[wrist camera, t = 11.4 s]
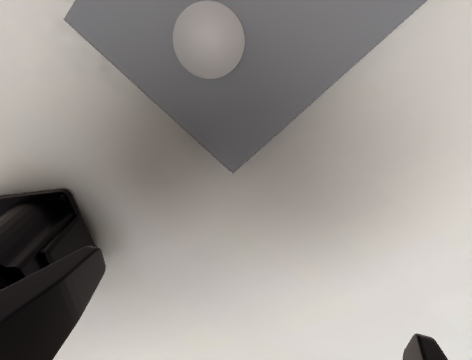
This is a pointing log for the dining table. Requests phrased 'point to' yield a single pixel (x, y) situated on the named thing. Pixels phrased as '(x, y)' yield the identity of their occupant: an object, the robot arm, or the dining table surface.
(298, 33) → the station board
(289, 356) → the dining table surface
